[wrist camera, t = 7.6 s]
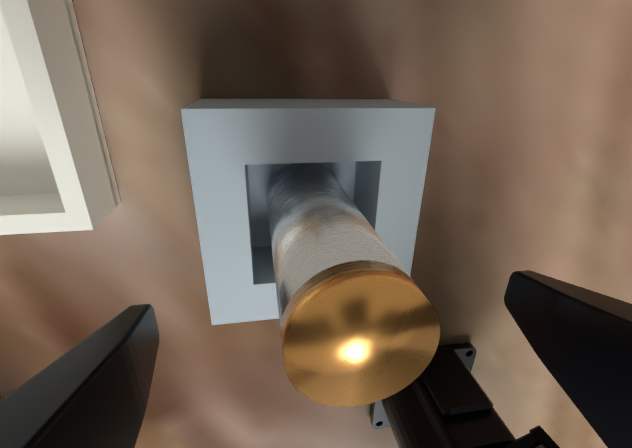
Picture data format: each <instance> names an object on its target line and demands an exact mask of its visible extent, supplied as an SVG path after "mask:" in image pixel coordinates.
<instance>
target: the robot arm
mask: <svg viewBox="0 0 632 448" xmlns="http://www.w3.org/2000/svg"><path fill="white" fill-rule="evenodd" d="M504 302H505V305H506V307H507V309H508V311H509V312H510V314H511V315H512V317H513V318H514V320H515V321H516V323H517V325H518V326H519V328H520V329H521V331H522V332H523V334H524V336H525V337H526V339H527V340H528V342H529V343H530V345H531V347H532V348H533V350H534V351H535V353H536V354H537V356H538V357H539V358H540V360H541V361H542V362H543V364H544V365H545V366H546V368H547V369H548V370H549V372H550V373H551V374H552V376H553V377H554V378H555V379H556V381H557V382H558V383H559V385H560V386H561V387H562V389H563V390H564V391H565V392H566V394H567V395H568V396H569V398H570V399H571V400H572V402H573V403H574V404H575V405H576V407H577V408H578V409H579V411H580V412H581V413H582V415H583V416H584V417H585V419H586V420H587V421H588V422H589V424H590V425H591V426H592V428H593V429H594V430H595V432H596V433H597V434H598V435H599V437H600V438H601V439H602V441H603V442H604V443H605V445H606V446H607V447H608V448H632V304H630V303H627V302H624V301H621V300H618V299H615V298H612V297H609V296H606V295H603V294H600V293H597V292H594V291H591V290H588V289H585V288H582V287H579V286H576V285H572V284H569V283H566V282H563V281H560V280H557V279H554V278H551V277H548V276H545V275H542V274H539V273H536V272H533V271H529V270H526V271H516V272H513V273H512V274H511V276H510V279H509V282H508V286H507V289H506V292H505V296H504ZM158 345H159V331H158V326H157V322H156V317H155V313H154V309H153V307H152V306H151V305H150V304H142V305H132V306H130V307H128V308H127V309H126V310H124V311H123V312H121V313H120V314H119V315H117V316H116V317H115V318H113V319H112V320H110V321H109V322H108V323H106V324H105V325H104V326H102V327H101V328H99V329H98V330H97V331H95V332H94V333H93V334H91V335H90V336H88V337H87V338H86V339H84V340H83V341H82V342H80V343H79V344H77V345H76V346H75V347H73V348H72V349H71V350H69V351H68V352H67V353H65V354H64V355H62V356H61V357H60V358H58V359H57V360H56V361H54V362H53V363H51V364H50V365H49V366H47V367H46V368H45V369H43V370H42V371H40V372H39V373H38V374H36V375H35V376H34V377H32V378H31V379H29V380H28V381H27V382H25V383H24V384H23V385H21V386H20V387H18V388H17V389H16V390H14V391H13V392H12V393H10V394H9V395H7V396H6V397H5V398H3V399H2V400H1V401H0V448H135V444H136V441H137V438H138V435H139V431H140V428H141V425H142V422H143V418H144V415H145V411H146V407H147V403H148V398H149V393H150V387H151V382H152V377H153V372H154V366H155V361H156V356H157V351H158ZM475 355H476V349H475V348H474V346H473V345H472V344H470V343H464V344H456V345H448V346H440V347H437V350H436V352H435V354H434V357H433V358H432V360H431V362H430V363H429V365H428V366H427V367H426V369H425V370H424V371H423V372H422V373H421V374H420V375H419V376H418V377H417V378H416V379H415V380H414V381H413V382H412V383H411V384H409V385H408V386H406V387H405V388H404V389H402V390H400V391H399V392H397V393H395V394H393V395H391V396H389V397H387V398H385V399H382V400H380V401H377V402H373V403H372V410H371V419H370V420H371V424H372V427H373V428H375V429H380V428H386V427H391V428H392V431H393V433H394V436H395V438H396V441H397V444H398V446H399V448H560V447H559V446H558V445H557V444H556V443H555V442H554V441H553V440H552V439H551V438H550V437H549V435H548V434H547V433H546V432H545V431H544V430H543V429H542V428H541V427H540V426H537V427H535V428H533V429H531V430H529V431H530V433H528V434H526V435H524V436H522V437H520V438H518V439H515V437H514V436H513V435H512V433H511V432H510V430H509V429H508V428H507V426H506V425H505V423H504V422H503V421H502V419H501V418H500V416H499V415H498V414H497V412H496V411H495V409H494V408H493V403H492V402H491V400H490V399H489V397H488V396H487V395H486V393H485V392H484V390H483V389H482V388H481V386H480V385H479V384H478V382H477V381H476V379H475V378H474V377H473V375H472V374H471V370H472V366H473V363H474V359H475Z"/></svg>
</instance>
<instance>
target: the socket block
mask: <svg viewBox="0 0 632 448" xmlns="http://www.w3.org/2000/svg"><path fill="white" fill-rule="evenodd" d="M435 110H436V108H432V107H427V106H422V105H418V104H413V103H408V102H403V101H398V100H393V99H198V100H197V101H195V102H193V103H191V104H189V105H187V106H185V107H183V108H181V115H182V122H183V129H184V136H185V143H186V150H187V157H188V164H189V170H190V177H191V184H192V191H193V198H194V205H195V212H196V218H197V225H198V232H199V239H200V246H201V253H202V260H203V267H204V273H205V280H206V287H207V294H208V301H209V308H210V315H211V322H212V325H218V324H227V323H237V322H247V321H257V320H266V319H276V318H279V310H278V301H277V292H276V283H275V273H274V264H273V255H272V246H271V236H270V227H269V218H268V209H267V199H266V197H267V189H268V186H269V184H270V182H271V180H272V178H273V177H274V176H275V174H276V173H277V172H278V171H280V170H281V169H282V168H284V167H285V166H287V165H290V164H292V163H316V164H319V165H321V166H323V167H324V168H326V169H327V170H328V171H329V172H330V173H331V174H332V175H333V177H334V178H335V179H336V181H337V182H338V183H339V185H340V186H341V187H342V188H343V190H344V191H345V192H346V194H347V195H348V196H349V198H350V199H351V200H352V202H353V203H354V204H355V205H356V207H357V208H358V209H359V211H360V212H361V213H362V215H363V216H364V217H365V218H366V220H367V221H368V222H369V224H370V225H371V226H372V228H373V229H374V230H375V232H376V233H377V234H378V235H379V237H380V238H381V239H382V241H383V242H384V243H385V245H386V246H387V247H388V248H389V250H390V251H391V252H392V254H393V255H394V256H395V258H396V259H397V260H398V262H399V263H400V264H401V265H402V267H403V268H404V269H405V271H406V272H407V273H408V275H409V276H410V273H411V267H412V260H413V254H414V247H415V241H416V234H417V228H418V221H419V215H420V208H421V201H422V195H423V188H424V182H425V175H426V169H427V162H428V156H429V149H430V143H431V136H432V130H433V123H434V117H435Z"/></svg>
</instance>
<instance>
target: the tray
mask: <svg viewBox="0 0 632 448" xmlns="http://www.w3.org/2000/svg"><path fill="white" fill-rule="evenodd" d="M120 203H121V201H120V197H119V193H118V188H117V184H116V180H115V176H114V172H113V168H112V164H111V159H110V155H109V151H108V147H107V143H106V139H105V135H104V130H103V126H102V122H101V118H100V114H99V110H98V106H97V102H96V97H95V93H94V89H93V85H92V81H91V77H90V73H89V68H88V64H87V60H86V56H85V52H84V48H83V44H82V39H81V35H80V31H79V27H78V23H77V19H76V15H75V11H74V6H73V2H72V0H0V235H7V234H25V233H43V232H61V231H79V230H93V229H94V228H95V227H96V226H97V225H98V224H99V223H100V222H101V221H102V220H103V219H104V218H105V217H106V216H107V215H108V214H109V213H110V212H111V211H113V210H114V209H115V208H116V207H117V206H118V205H119V204H120Z"/></svg>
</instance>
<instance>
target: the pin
mask: <svg viewBox="0 0 632 448" xmlns="http://www.w3.org/2000/svg"><path fill="white" fill-rule="evenodd" d="M266 199H267V209H268V218H269V227H270V236H271V246H272V255H273V264H274V273H275V283H276V292H277V301H278V310H279V319H280V329H281V338H282V347H283V356H284V365H285V370H286V373H287V376H288V378H289V380H290V382H291V383H292V385H293V386H294V387H295V388H296V389H297V390H298V391H299V392H300V393H301V394H302V395H304V396H305V397H307V398H309V399H311V400H313V401H315V402H318V403H321V404H324V405H329V406H337V407H352V406H361V405H366V404H370V403H373V402H377V401H380V400H382V399H385V398H387V397H389V396H391V395H393V394H395V393H397V392H399V391H400V390H402V389H404V388H405V387H406V386H408V385H409V384H411V383H412V382H413V381H414V380H415V379H416V378H417V377H418V376H419V375H420V374H421V373H422V372H423V371H424V370H425V369H426V367H427V366H428V365H429V363H430V362H431V360H432V358H433V357H434V354H435V352H436V350H437V347H438V343H439V338H440V324H439V318H438V316H437V313H436V311H435V309H434V308H433V306H432V305H431V303H430V302H429V301H428V299H427V298H426V297H425V295H424V294H423V293H422V291H421V290H420V289H419V288H418V286H417V285H416V284H415V282H414V281H413V280H412V278H411V277H410V276H409V275H408V273H407V272H406V271H405V269H404V268H403V267H402V265H401V264H400V263H399V262H398V260H397V259H396V258H395V256H394V255H393V254H392V252H391V251H390V250H389V248H388V247H387V246H386V245H385V243H384V242H383V241H382V239H381V238H380V237H379V235H378V234H377V233H376V232H375V230H374V229H373V228H372V226H371V225H370V224H369V222H368V221H367V220H366V218H365V217H364V216H363V215H362V213H361V212H360V211H359V209H358V208H357V207H356V205H355V204H354V203H353V202H352V200H351V199H350V198H349V196H348V195H347V194H346V192H345V191H344V190H343V188H342V187H341V186H340V185H339V183H338V182H337V181H336V179H335V178H334V177H333V175H332V174H331V173H330V172H329V171H328V170H327V169H326V168H324V167H323V166H321V165H319V164H316V163H292V164H290V165H287V166H285V167H284V168H282V169H281V170H280V171H278V172H277V173H276V174H275V176H274V177H273V178H272V180H271V182H270V184H269V186H268V189H267V197H266Z"/></svg>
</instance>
